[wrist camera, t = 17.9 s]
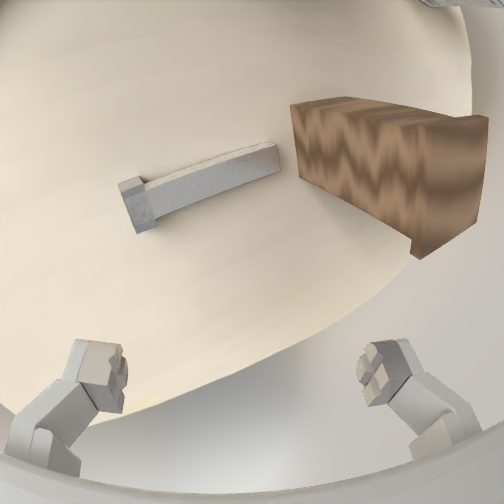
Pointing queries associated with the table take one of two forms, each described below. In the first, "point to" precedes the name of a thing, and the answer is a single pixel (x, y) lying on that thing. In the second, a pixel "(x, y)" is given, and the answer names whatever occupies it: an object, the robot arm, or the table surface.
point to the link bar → (196, 183)
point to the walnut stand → (396, 164)
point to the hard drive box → (465, 3)
